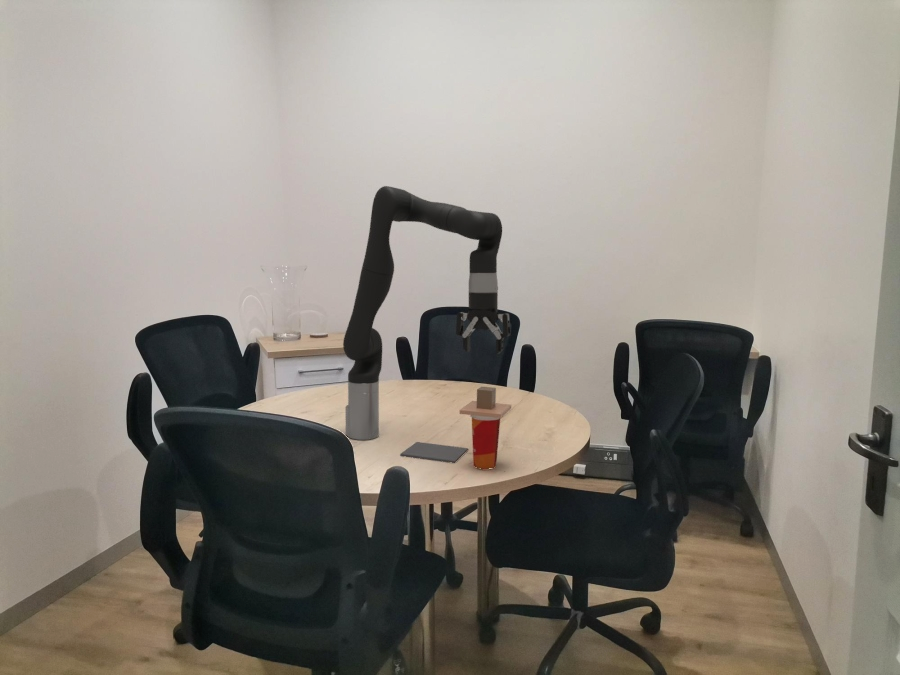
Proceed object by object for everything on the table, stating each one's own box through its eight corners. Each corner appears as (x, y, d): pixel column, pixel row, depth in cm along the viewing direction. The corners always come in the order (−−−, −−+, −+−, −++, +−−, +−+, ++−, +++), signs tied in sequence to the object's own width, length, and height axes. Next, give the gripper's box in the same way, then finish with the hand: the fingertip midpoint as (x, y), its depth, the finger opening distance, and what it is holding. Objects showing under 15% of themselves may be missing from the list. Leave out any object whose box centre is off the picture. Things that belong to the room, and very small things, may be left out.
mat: (400, 455, 171) (400, 453, 170) (416, 443, 182) (416, 441, 182) (454, 463, 165) (454, 461, 165) (468, 450, 177) (468, 448, 177)
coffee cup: (481, 458, 170) (482, 405, 168) (506, 465, 164) (507, 410, 162) (462, 466, 163) (463, 411, 161) (487, 473, 158) (489, 416, 156)
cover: (459, 413, 158) (459, 390, 158) (472, 404, 169) (472, 382, 168) (500, 418, 155) (501, 394, 154) (511, 408, 165) (512, 386, 164)
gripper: (452, 291, 158) (452, 353, 160) (505, 291, 153) (504, 356, 155) (462, 289, 165) (462, 349, 167) (513, 290, 160) (513, 352, 162)
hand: (483, 352), depth 161 cm, fingers open, 8 cm apart
